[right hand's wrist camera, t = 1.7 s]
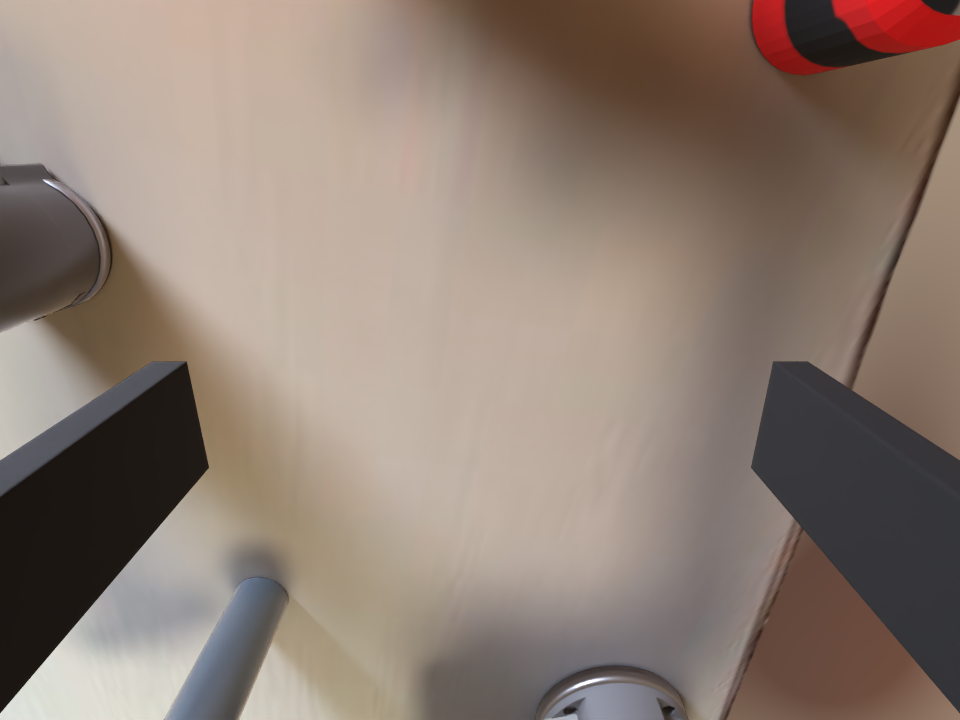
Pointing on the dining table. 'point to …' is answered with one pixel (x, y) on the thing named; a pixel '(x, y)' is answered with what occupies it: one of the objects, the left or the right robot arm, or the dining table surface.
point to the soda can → (849, 30)
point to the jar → (232, 654)
